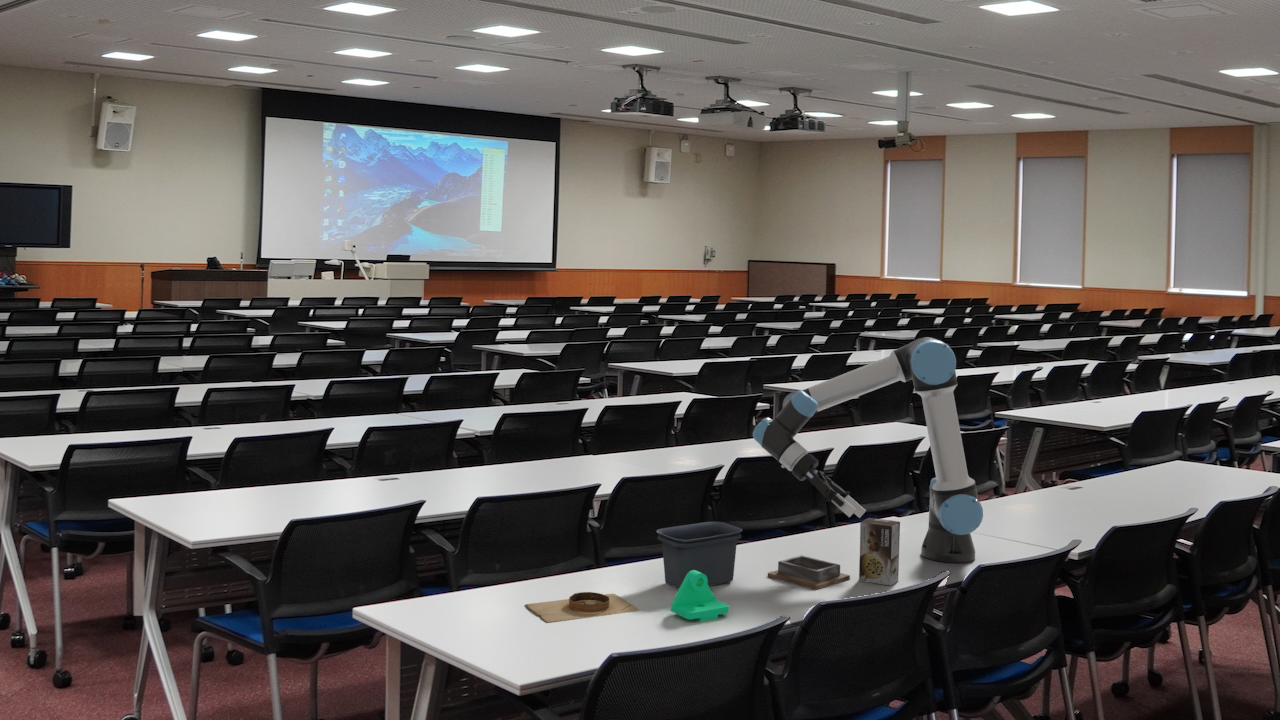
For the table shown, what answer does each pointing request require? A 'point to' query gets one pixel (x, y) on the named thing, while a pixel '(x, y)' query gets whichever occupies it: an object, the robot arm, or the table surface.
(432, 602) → the table surface
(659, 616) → the table surface
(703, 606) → the camera mount
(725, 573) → the storage bin
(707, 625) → the table surface
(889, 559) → the coffee box
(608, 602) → the board
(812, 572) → the socket
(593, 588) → the table surface
